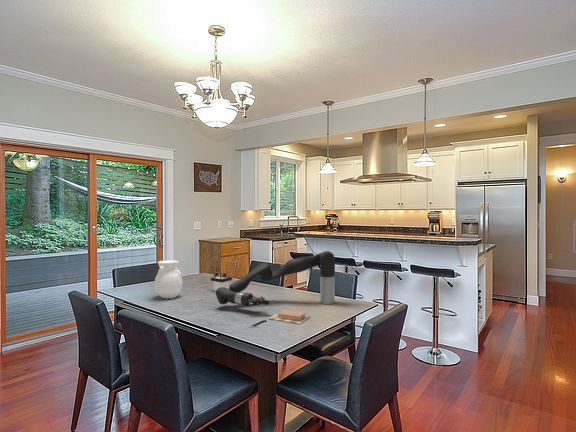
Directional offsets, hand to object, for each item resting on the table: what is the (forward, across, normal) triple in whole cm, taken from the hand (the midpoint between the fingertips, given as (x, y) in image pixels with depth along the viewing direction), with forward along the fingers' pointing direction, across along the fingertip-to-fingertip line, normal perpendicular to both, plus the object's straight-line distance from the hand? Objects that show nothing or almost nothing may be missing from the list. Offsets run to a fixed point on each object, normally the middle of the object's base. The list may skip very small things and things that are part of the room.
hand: (268, 302), depth 204 cm
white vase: (-84, +3, +8) cm, 84 cm away
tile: (+8, 0, +5) cm, 10 cm away
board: (+14, 0, +7) cm, 15 cm away
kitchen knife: (+6, -24, +8) cm, 26 cm away
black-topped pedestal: (-64, +36, +8) cm, 74 cm away
